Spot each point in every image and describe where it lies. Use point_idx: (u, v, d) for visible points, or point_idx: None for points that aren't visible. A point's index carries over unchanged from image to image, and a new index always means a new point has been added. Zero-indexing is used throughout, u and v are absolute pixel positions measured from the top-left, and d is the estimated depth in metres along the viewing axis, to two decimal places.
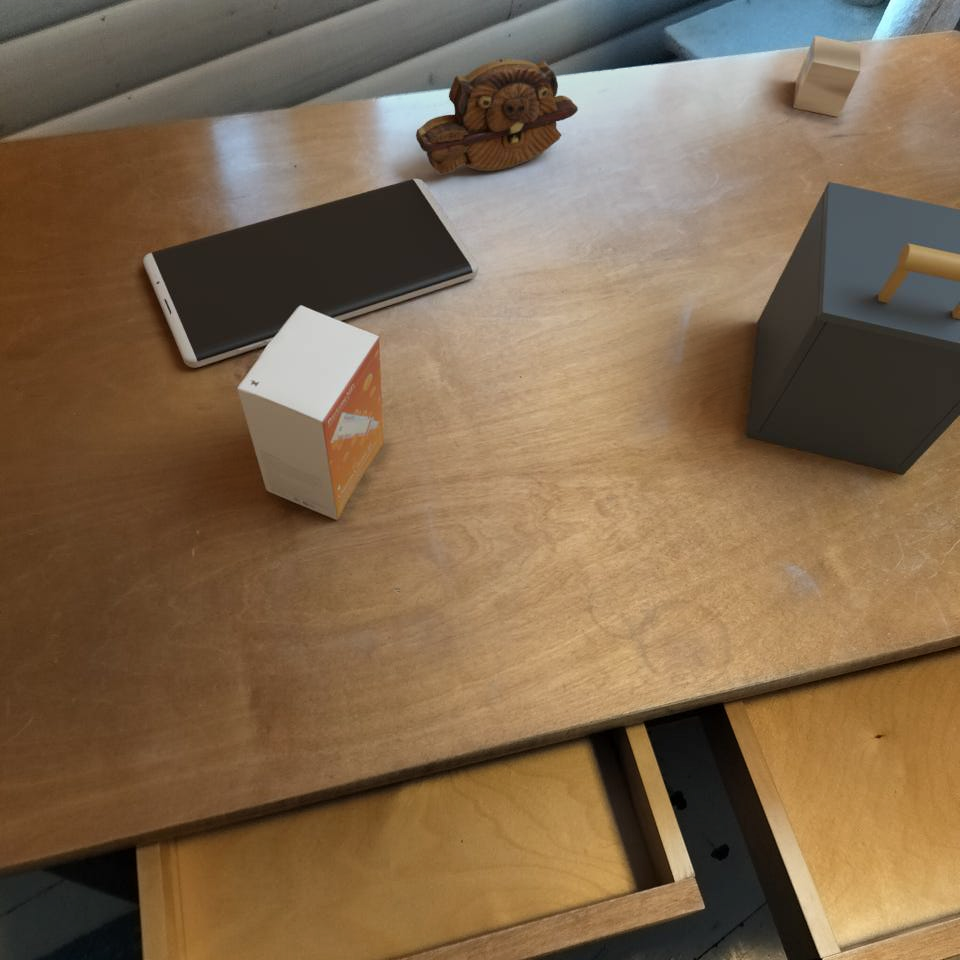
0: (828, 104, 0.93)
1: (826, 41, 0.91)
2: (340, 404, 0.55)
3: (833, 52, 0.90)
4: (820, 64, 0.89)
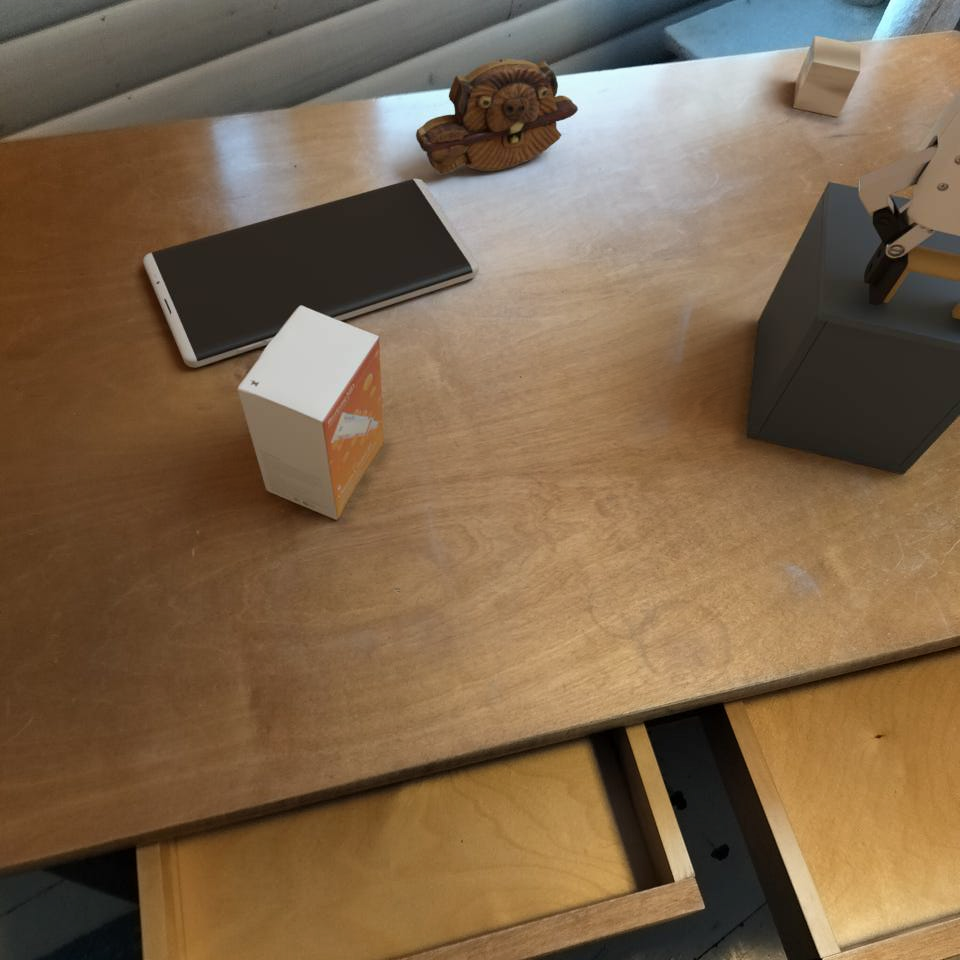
0: (828, 104, 0.93)
1: (826, 41, 0.91)
2: (340, 404, 0.55)
3: (833, 52, 0.90)
4: (820, 64, 0.89)
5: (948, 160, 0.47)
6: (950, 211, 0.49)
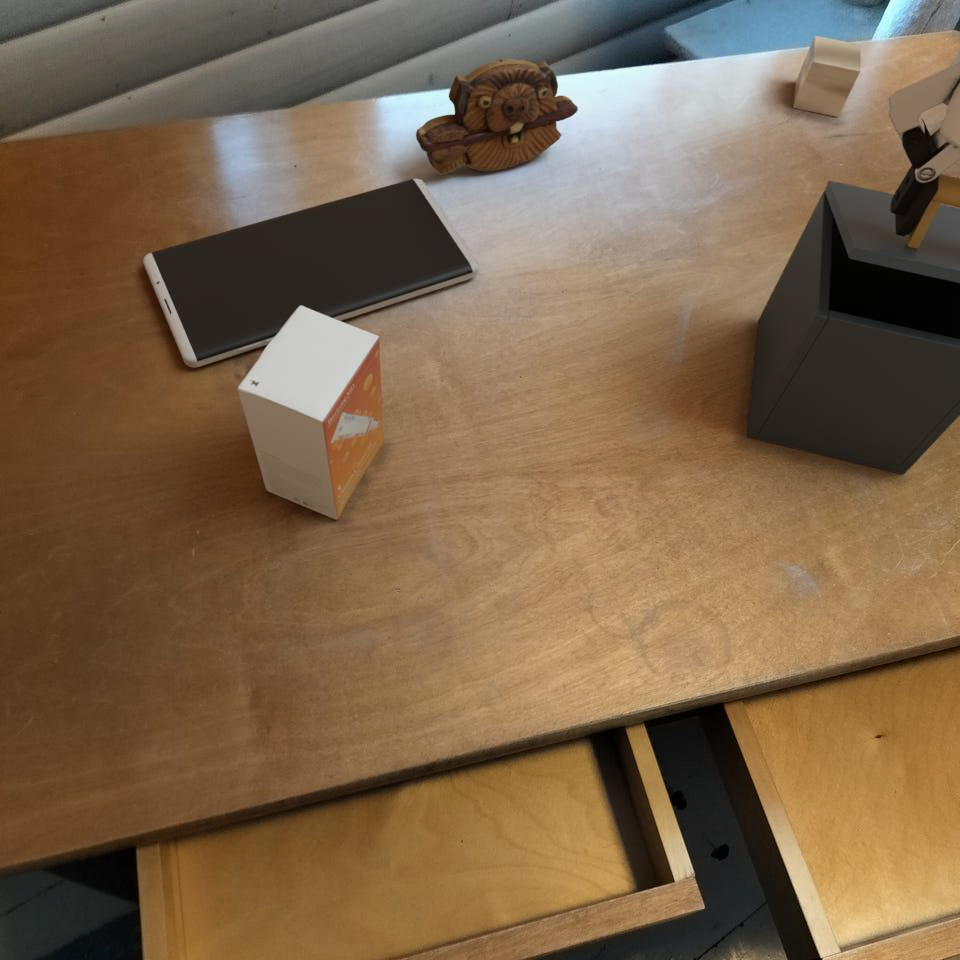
0: (828, 104, 0.93)
1: (826, 41, 0.91)
2: (340, 404, 0.55)
3: (833, 52, 0.90)
4: (820, 64, 0.89)
5: None
6: None
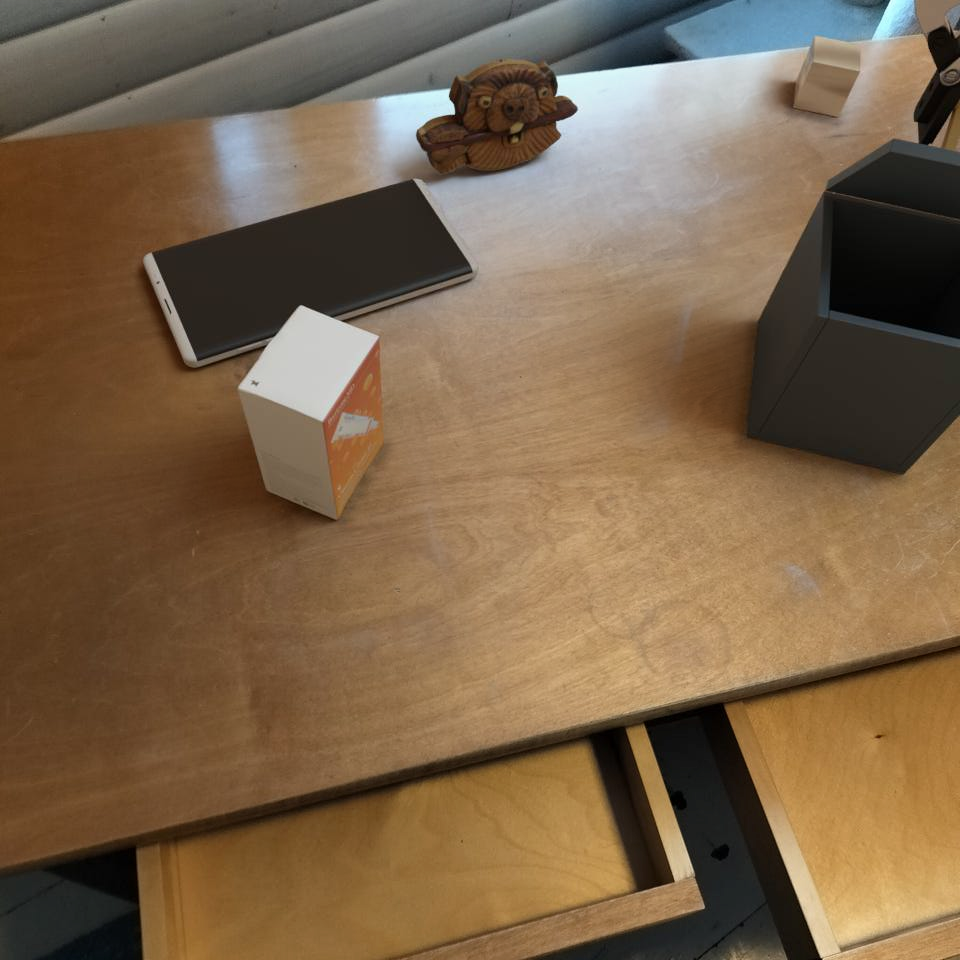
0: (828, 104, 0.93)
1: (826, 41, 0.91)
2: (340, 404, 0.55)
3: (833, 52, 0.90)
4: (820, 64, 0.89)
5: None
6: None
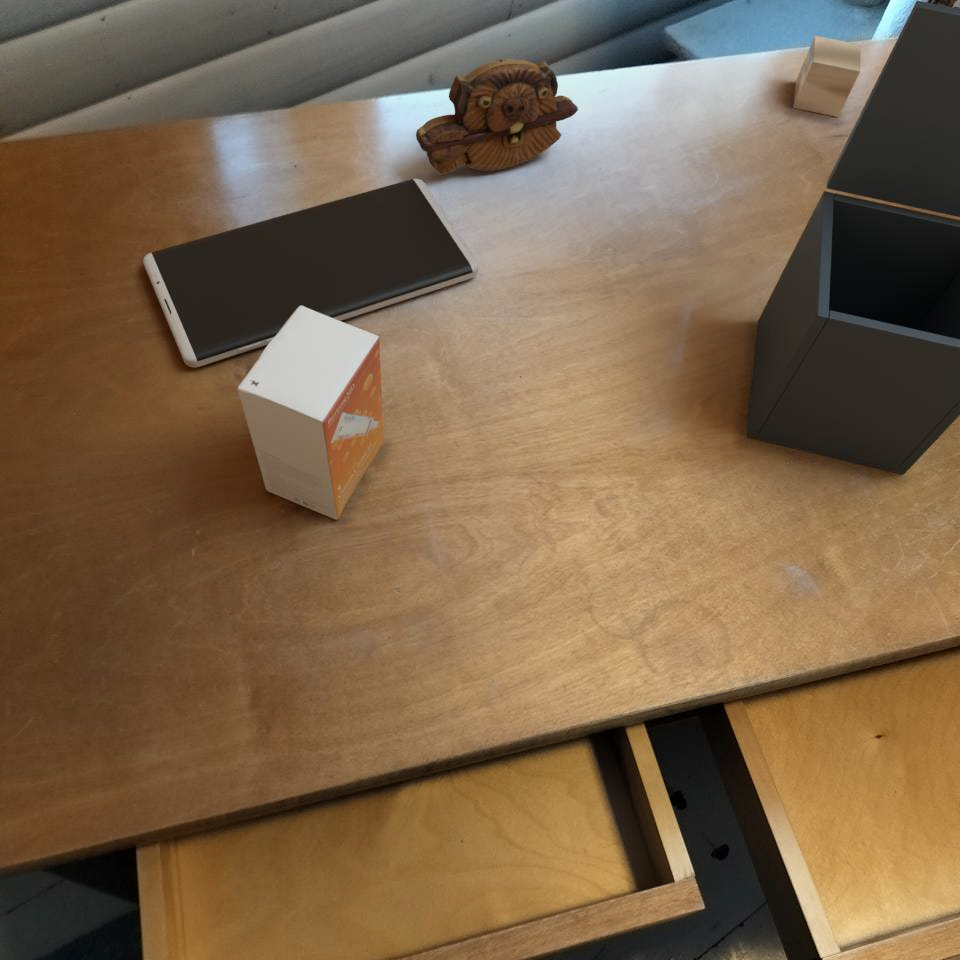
0: (828, 104, 0.93)
1: (826, 41, 0.91)
2: (340, 404, 0.55)
3: (833, 52, 0.90)
4: (820, 64, 0.89)
5: None
6: None
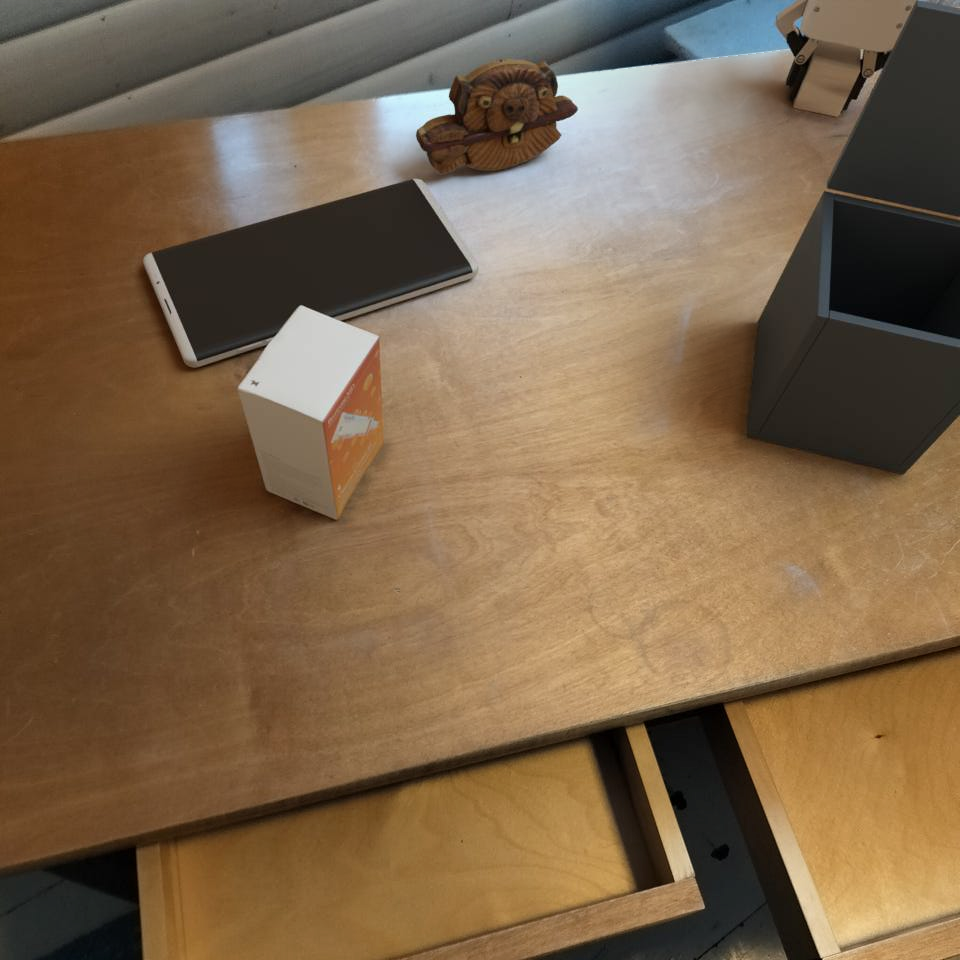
0: (828, 104, 0.93)
1: None
2: (340, 404, 0.55)
3: (833, 52, 0.90)
4: (820, 64, 0.89)
5: None
6: (822, 25, 0.86)
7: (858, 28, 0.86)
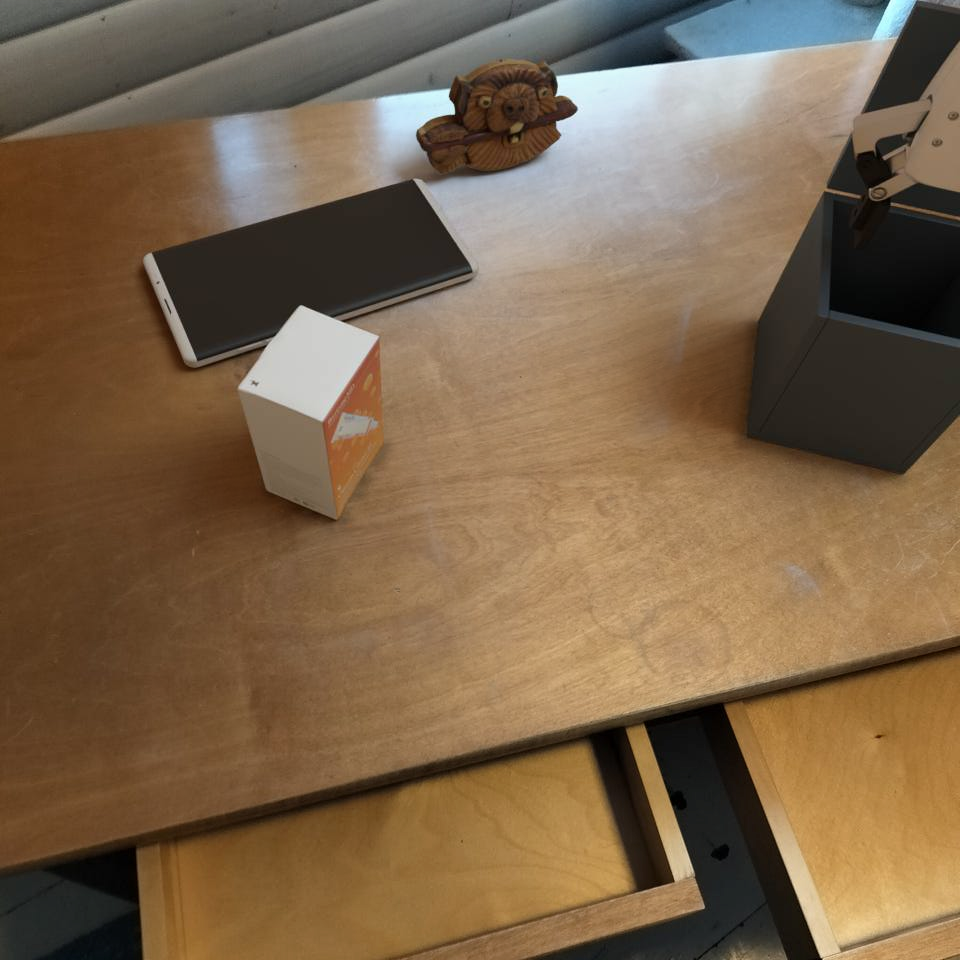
0: None
1: None
2: (340, 404, 0.55)
3: None
4: None
5: (942, 116, 0.49)
6: (944, 166, 0.52)
7: None
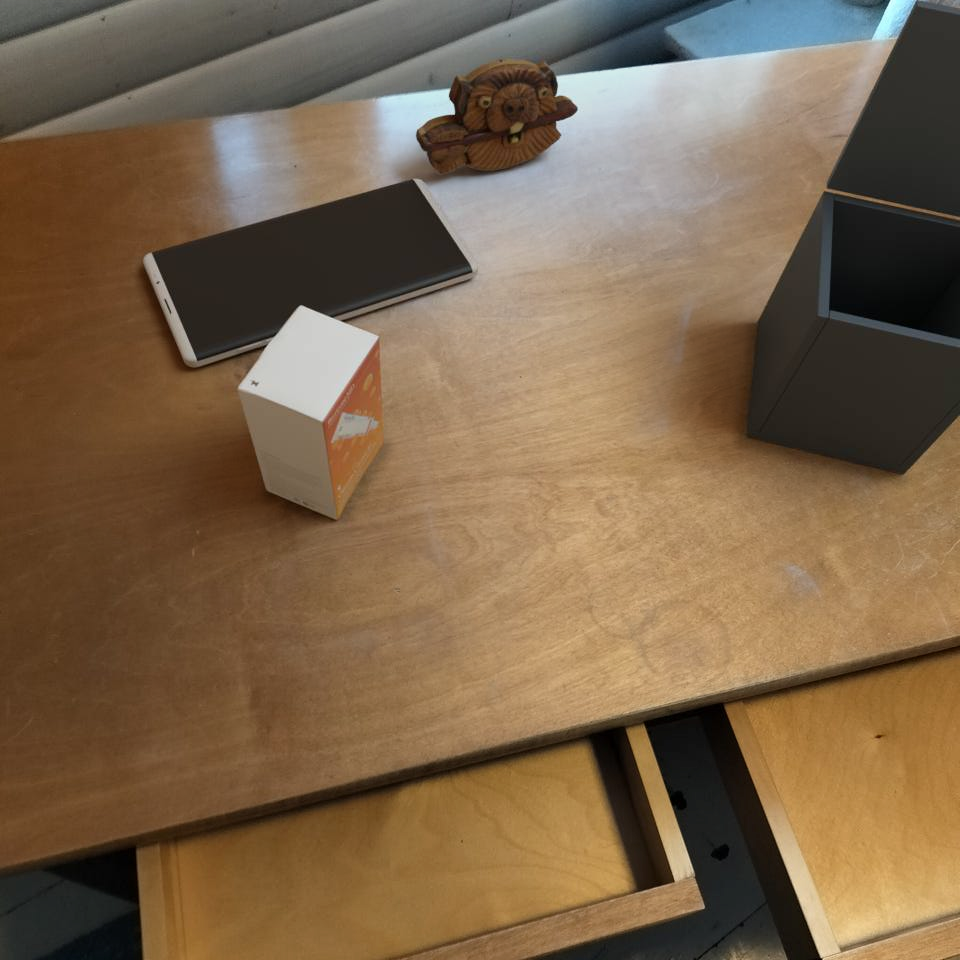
0: None
1: None
2: (340, 404, 0.55)
3: None
4: None
5: None
6: None
7: None
